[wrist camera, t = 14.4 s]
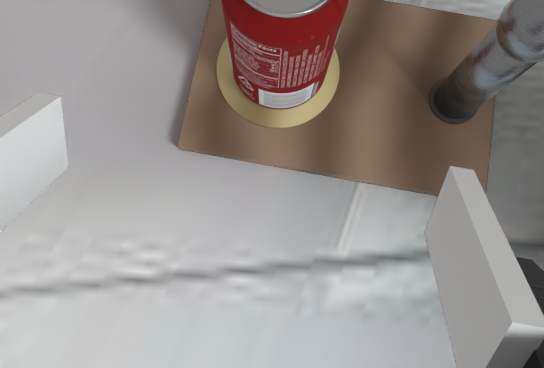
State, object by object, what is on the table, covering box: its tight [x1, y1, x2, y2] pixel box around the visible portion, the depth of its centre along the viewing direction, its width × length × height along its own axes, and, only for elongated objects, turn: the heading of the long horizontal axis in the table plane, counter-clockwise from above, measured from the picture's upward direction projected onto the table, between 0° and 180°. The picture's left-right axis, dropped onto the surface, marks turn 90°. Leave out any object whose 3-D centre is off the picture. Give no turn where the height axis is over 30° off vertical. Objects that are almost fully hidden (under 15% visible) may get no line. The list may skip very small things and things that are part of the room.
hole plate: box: [177, 0, 498, 196], centre depth 35 cm, size 22×14×1 cm, turn 80°
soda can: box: [221, 0, 349, 110], centre depth 28 cm, size 7×7×12 cm
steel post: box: [434, 0, 544, 119], centre depth 28 cm, size 4×4×12 cm
